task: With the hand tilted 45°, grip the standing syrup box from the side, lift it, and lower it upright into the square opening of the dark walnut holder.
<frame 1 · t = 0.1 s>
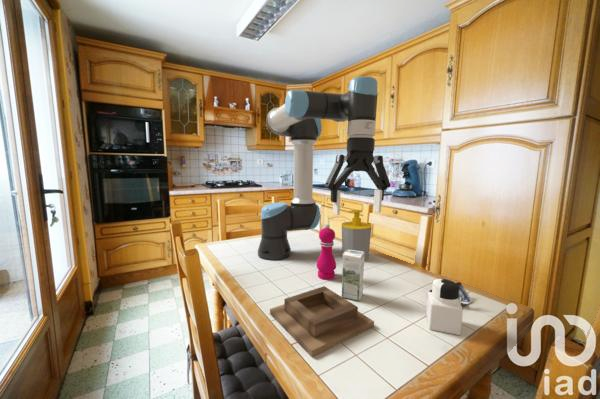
hand: (357, 212, 78), 28 cm above the table, tool pointing down, fingers open, 13 cm apart
pepper mill: (326, 276, 100), on the table
walnut holder: (319, 320, 73), on the table
soap bottle: (355, 257, 121), on the table
white bottle: (442, 325, 71), on the table
syrup box: (352, 296, 86), on the table
snack package: (450, 303, 83), on the table
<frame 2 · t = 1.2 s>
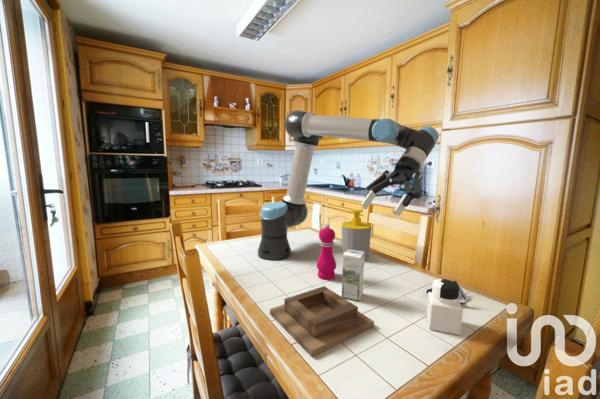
hand: (379, 209, 88), 27 cm above the table, tool tilted 45°, fingers open, 13 cm apart
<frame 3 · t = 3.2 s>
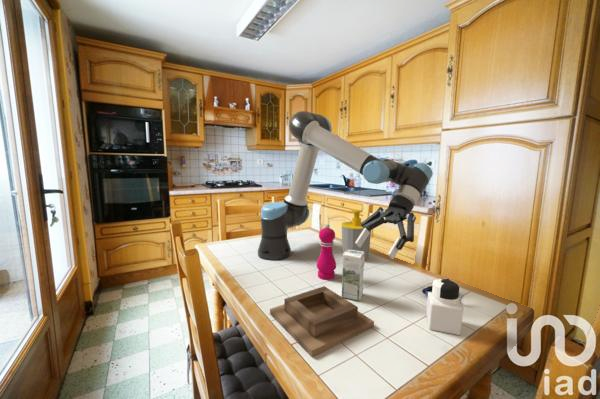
hand: (372, 250, 88), 14 cm above the table, tool tilted 45°, fingers open, 13 cm apart
snack package: (443, 300, 84), on the table
everything else where it was.
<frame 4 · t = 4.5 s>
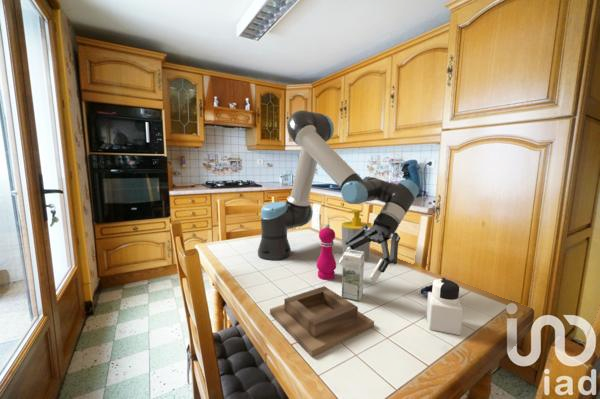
hand: (355, 271, 84), 8 cm above the table, tool tilted 45°, fingers open, 13 cm apart
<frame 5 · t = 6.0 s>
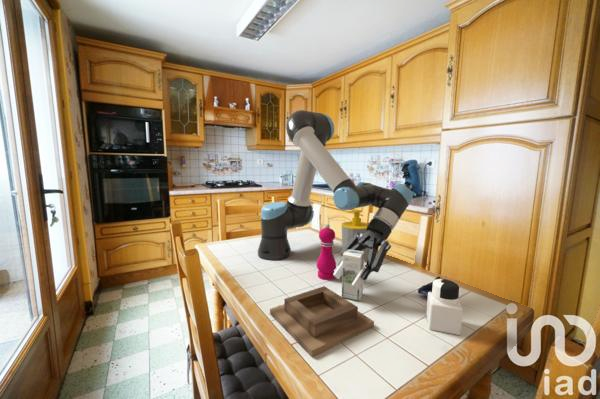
hand: (344, 281, 83), 6 cm above the table, tool tilted 45°, fingers closed on syrup box, 8 cm apart
syrup box: (352, 296, 86), on the table, touching gripper
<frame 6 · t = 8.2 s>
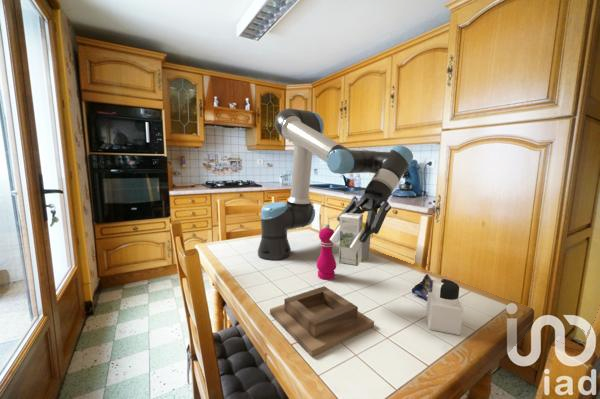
hand: (342, 246, 78), 18 cm above the table, tool tilted 45°, fingers closed on syrup box, 8 cm apart
syrup box: (350, 262, 81), point 13 cm above the table, touching gripper
snack package: (430, 296, 87), on the table
everything else where it was.
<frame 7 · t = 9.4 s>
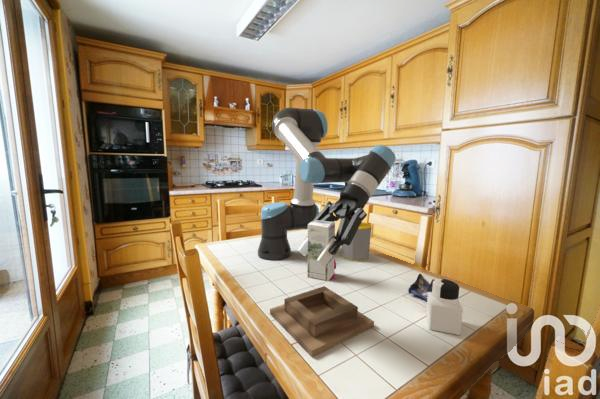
hand: (310, 258, 68), 18 cm above the table, tool tilted 45°, fingers closed on syrup box, 8 cm apart
syrup box: (320, 276, 71), point 12 cm above the table, touching gripper
snack package: (426, 295, 88), on the table
everything else where it was.
when the fingers open (8 cm above the table, at t = 11.9 s): syrup box drops 1 cm, resting on walnut holder.
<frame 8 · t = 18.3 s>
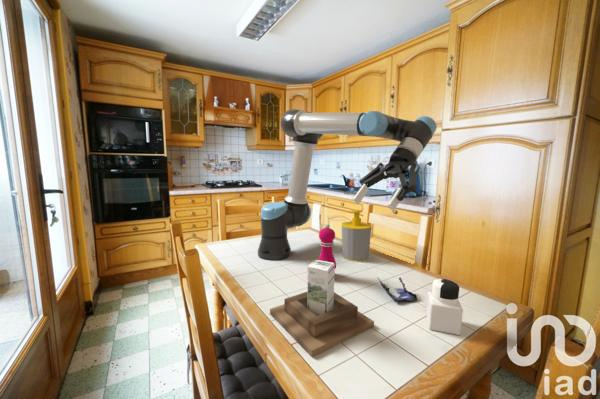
hand: (372, 204, 82), 30 cm above the table, tool tilted 45°, fingers open, 13 cm apart
syrup box: (320, 315, 73), point 1 cm above the table, touching walnut holder
snack package: (396, 296, 87), on the table
everything else where it was.
at the end: syrup box 0.1 cm off-centre on the walnut holder, point 1.3 cm above the walnut holder's base; syrup box tilted 0°; the gripper is holding nothing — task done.
